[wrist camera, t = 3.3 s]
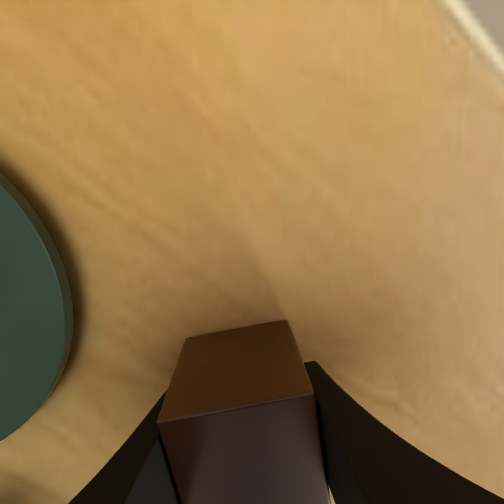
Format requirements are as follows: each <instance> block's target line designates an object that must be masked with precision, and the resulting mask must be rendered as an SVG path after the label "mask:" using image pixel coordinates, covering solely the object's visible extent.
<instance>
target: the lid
mask: <svg viewBox="0 0 504 504" xmlns="http://www.w3.org/2000/svg"><path fill="white" fill-rule="evenodd" d="M72 335H73V305H72V297H71V290H70V286H69V282H68V278H67V275H66V271H65V267H64V265H63V262H62V260H61V257H60V255H59V253H58V250H57V248H56V246H55V243H54V241H53V240H52V238H51V236H50V234H49V233H48V231H47V229H46V227H45V226H44V224H43V222H42V220H41V219H40V218H39V216H38V215H37V213H36V212H35V211H34V209H33V208H32V207H31V205H30V204H29V203H28V201H27V200H26V199H25V197H24V196H23V195H22V194H21V193H20V192H19V191H18V190H17V189H16V187H15V186H14V185H13V184H12V183H11V182H10V181H9V180H8V179H7V178H6V177H5V176H4V175H3V174H2V173H1V172H0V441H1V440H3V439H5V438H6V437H7V436H9V435H10V434H12V433H13V432H14V431H16V430H17V429H18V428H20V427H21V426H22V425H23V424H24V423H25V422H26V421H27V420H28V419H29V418H30V417H31V416H32V415H33V414H34V413H35V412H36V411H37V410H38V409H39V408H40V407H41V406H42V405H43V403H44V402H45V401H46V399H47V398H48V397H49V395H50V394H51V393H52V391H53V390H54V388H55V386H56V385H57V383H58V381H59V379H60V377H61V375H62V373H63V371H64V368H65V365H66V362H67V359H68V356H69V353H70V347H71V341H72Z"/></svg>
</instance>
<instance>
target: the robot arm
mask: <svg viewBox="0 0 504 504" xmlns="http://www.w3.org/2000/svg"><path fill="white" fill-rule="evenodd" d="M304 365H305V368H306V371H307V373H308V376H309V379H310V382H311V384H312V387H313V390H314V392H315V399H316V405H317V412H318V419H319V426H320V432H321V439H322V446H323V453H324V459H325V466H326V473H327V480H328V485H329V487H330V490H331V493H332V495H333V498H334V501H335V504H504V499H503V498H501V497H499V496H497V495H495V494H493V493H491V492H490V491H488V490H486V489H484V488H482V487H480V486H478V485H476V484H475V483H473V482H471V481H469V480H467V479H466V478H464V477H462V476H460V475H459V474H457V473H455V472H454V471H452V470H450V469H449V468H447V467H446V466H444V465H442V464H441V463H439V462H437V461H436V460H434V459H432V458H431V457H429V456H427V455H426V454H424V453H423V452H421V451H420V450H418V449H417V448H415V447H414V446H412V445H411V444H409V443H408V442H406V441H405V440H404V439H402V438H401V437H399V436H398V435H397V434H395V433H394V432H392V431H391V430H390V429H389V428H387V427H386V426H385V425H383V424H382V423H381V422H379V421H378V420H377V419H376V418H375V417H373V416H372V415H371V414H370V413H368V412H367V411H366V410H365V409H364V408H363V407H361V406H360V405H359V404H358V403H357V402H356V401H355V400H353V399H352V398H351V397H350V396H349V395H348V394H347V393H346V392H345V391H344V390H343V389H342V388H341V387H340V386H339V385H338V384H337V383H336V382H335V381H334V380H333V379H332V378H331V377H330V376H329V375H328V374H327V373H326V372H325V371H324V370H323V369H322V368H321V366H320V365H319V364H318V363H317V362H315V361H311V362H306V363H304ZM167 390H168V389H167ZM166 393H167V391H166V392H165V393H164V394H163V395H162V397H161V398H160V399H159V401H158V402H157V403H156V404H155V406H154V407H153V408H152V410H151V411H150V412H149V413H148V415H147V416H146V417H145V418H144V420H143V421H142V422H141V423H140V425H139V426H138V427H137V428H136V430H135V431H134V432H133V433H132V435H131V436H130V437H129V438H128V439H127V441H126V442H125V443H124V444H123V445H122V446H121V447H120V449H119V450H118V451H117V452H116V453H115V454H114V456H113V457H112V458H111V459H110V460H109V461H108V462H107V464H106V465H105V466H104V467H103V468H102V469H101V470H100V471H99V472H98V474H97V475H96V476H95V477H94V478H93V479H92V480H91V481H90V482H89V483H88V484H87V485H86V486H85V487H84V488H83V489H82V490H81V491H80V492H79V493H78V494H77V495H76V496H75V497H74V498H73V499H72V500H71V501H70V502H69V503H68V504H182V503H181V500H180V497H179V494H178V490H177V487H176V484H175V481H174V477H173V474H172V471H171V468H170V464H169V461H168V458H167V455H166V451H165V448H164V445H163V441H162V438H161V435H160V432H159V428H158V425H157V419H158V416H159V413H160V411H161V408H162V405H163V402H164V399H165V396H166Z"/></svg>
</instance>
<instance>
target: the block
mask: <svg viewBox="0 0 504 504" xmlns="http://www.w3.org/2000/svg"><path fill="white" fill-rule="evenodd" d="M157 425H158V428H159V432H160V435H161V438H162V441H163V445H164V448H165V451H166V455H167V458H168V461H169V464H170V468H171V471H172V474H173V477H174V481H175V484H176V487H177V490H178V494H179V497H180V500H181V503H182V504H331V500H330V493H329V486H328V480H327V473H326V466H325V459H324V453H323V446H322V439H321V432H320V426H319V419H318V412H317V405H316V399H315V392H314V390H313V387H312V384H311V382H310V379H309V376H308V373H307V371H306V368H305V365H304V363H303V360H302V357H301V355H300V352H299V349H298V347H297V344H296V341H295V339H294V336H293V333H292V330H291V328H290V325H289V322H288V321H287V320H283V321H277V322H272V323H267V324H261V325H256V326H250V327H245V328H240V329H234V330H229V331H224V332H218V333H213V334H208V335H202V336H197V337H191V338H187V339H185V342H184V345H183V348H182V350H181V353H180V356H179V359H178V362H177V365H176V368H175V370H174V373H173V376H172V379H171V382H170V385H169V388H168V390H167V393H166V396H165V399H164V402H163V405H162V408H161V411H160V413H159V416H158V419H157Z"/></svg>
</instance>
